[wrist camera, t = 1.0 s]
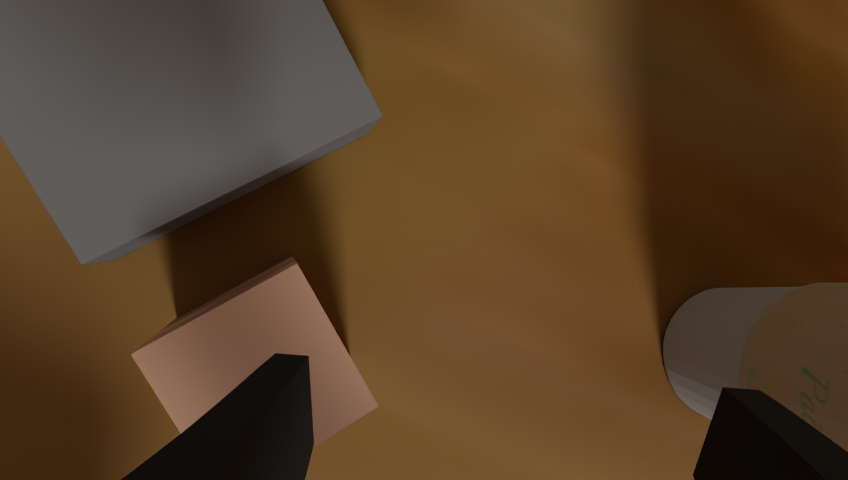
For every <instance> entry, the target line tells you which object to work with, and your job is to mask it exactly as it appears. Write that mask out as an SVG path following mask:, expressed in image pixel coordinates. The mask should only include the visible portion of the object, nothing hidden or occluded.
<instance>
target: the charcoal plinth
mask: <svg viewBox="0 0 848 480" xmlns="http://www.w3.org/2000/svg"><path fill="white" fill-rule="evenodd" d="M382 117H383V115H382V113H381V112H380V110H379V108H378V106H377V104H376V102H375V100H374V98H373V96H372V94H371V92H370V90H369V88H368V87H367V85H366V83H365V81H364V79H363V77H362V75H361V73H360V71H359V69H358V67H357V65H356V63H355V62H354V60H353V58H352V56H351V54H350V52H349V50H348V48H347V46H346V44H345V42H344V40H343V39H342V37H341V35H340V33H339V31H338V29H337V27H336V25H335V23H334V21H333V19H332V17H331V15H330V14H329V12H328V10H327V8H326V6H325V4H324V2H323V0H0V136H1V137H2V139H3V141H4V142H5V144H6V145H7V147H8V149H9V150H10V152H11V153H12V155H13V157H14V158H15V160H16V161H17V163H18V165H19V166H20V168H21V169H22V171H23V172H24V174H25V176H26V177H27V179H28V180H29V182H30V184H31V185H32V187H33V188H34V190H35V192H36V193H37V195H38V196H39V198H40V200H41V201H42V203H43V204H44V206H45V207H46V209H47V211H48V212H49V214H50V215H51V217H52V219H53V220H54V222H55V223H56V225H57V227H58V228H59V230H60V231H61V233H62V234H63V236H64V238H65V239H66V241H67V242H68V244H69V246H70V247H71V249H72V250H73V252H74V254H75V255H76V257H77V258H78V260H79V262H80V263H81V265H84V264H91V263H99V262H106V261H113V260H115V259H117V258H119V257H121V256H123V255H125V254H127V253H129V252H131V251H134V250H136V249H138V248H140V247H142V246H144V245H146V244H148V243H150V242H152V241H154V240H156V239H158V238H160V237H162V236H164V235H166V234H168V233H170V232H172V231H174V230H176V229H178V228H180V227H182V226H184V225H186V224H188V223H190V222H192V221H194V220H196V219H198V218H200V217H202V216H204V215H206V214H208V213H210V212H212V211H214V210H216V209H218V208H220V207H222V206H224V205H226V204H228V203H230V202H232V201H234V200H236V199H238V198H240V197H242V196H244V195H246V194H248V193H250V192H252V191H254V190H256V189H258V188H260V187H262V186H264V185H266V184H268V183H270V182H272V181H274V180H276V179H278V178H280V177H282V176H284V175H286V174H288V173H290V172H292V171H294V170H296V169H298V168H300V167H302V166H304V165H306V164H308V163H310V162H312V161H314V160H316V159H318V158H320V157H322V156H324V155H326V154H328V153H330V152H332V151H334V150H336V149H338V148H340V147H342V146H344V145H346V144H348V143H350V142H352V141H354V140H356V139H358V138H360V137H362V136H364V135H366V134H368V133H369V132H370V131H371V130H372V129H373V127H374V126H375V125H376V124H377V123H378V121H379V120H380V119H381V118H382Z"/></svg>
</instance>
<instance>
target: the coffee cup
mask: <svg viewBox="0 0 848 480" xmlns="http://www.w3.org/2000/svg"><path fill="white" fill-rule="evenodd" d="M663 359H664V366H665V370H666V373H667V376H668V380H669V382H670V384H671V386H672V388H673V390H674V391H675V393H676V394H677V395H678V397H679V398H680V399H681V400H682V401H683V402H684V403H685V404H686V405H687V406H688V407H690V408H691V409H693V410H695V411H696V412H698V413H700V414H702V415H703V416H705V417H707V418H709V419H710V420H712V417H713V414H714V411H715V408H716V405H717V402H718V399H719V396H720V393H721V390H722V387H727V388H740V389H754V390H760V391H762V392H763V393H765V394H767V395H768V396H770V397H771V398H773V399H774V400H776V401H777V402H779V403H780V404H782V405H783V406H785V407H786V408H787V409H789V410H790V411H792V412H793V413H795V414H796V415H797V416H799V417H800V418H802V419H803V420H804V421H806V422H807V423H809V424H810V425H811V426H813V427H814V428H815V429H817V430H818V431H820V432H821V433H822V434H824V435H825V436H826V437H828V438H829V439H831V440H832V441H833V442H835V443H836V444H837V445H839V446H840V447H842V448H843V449H844V450H846V451H847V452H848V282H836V283H812V284H808V285H805V286H801V287H736V288H713V289H709V290H705V291H702V292H700V293H698V294H696V295H694V296H693V297H691V298H690V299H688V300H687V301H686V302H684V303H683V305H682V306H681V307H680V308H679V309H678V310H677V311H676V312H675V314H674V315H673V317H672V318H671V320H670V322H669V324H668V327H667V329H666V331H665V336H664V341H663Z"/></svg>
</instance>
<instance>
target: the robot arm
mask: <svg viewBox="0 0 848 480" xmlns="http://www.w3.org/2000/svg"><path fill="white" fill-rule="evenodd" d="M313 445H314V433H313V417H312V401H311V385H310V368H309V356H306V355H293V354H279V353H275V354H274V355H273V356H271V357H270V358H269V359H268V360H267V361H265V362H264V363H263V364H262V365H261V366H260V367H258V368H257V369H256V370H255V371H254V372H253V373H251V374H250V375H249V376H248V377H247V378H246V379H245V380H243V381H242V382H241V383H240V384H239V385H238V386H237V387H236V388H234V389H233V390H232V391H231V392H230V393H229V394H227V395H226V396H225V397H224V398H223V399H222V400H221V401H219V402H218V403H217V404H216V405H215V406H213V407H212V408H211V409H210V410H209V411H208V412H206V413H205V414H204V415H203V416H202V417H200V418H199V419H198V420H197V421H196V422H194V423H193V424H192V425H191V426H190V427H188V428H187V429H186V430H185V431H184V432H182V433H181V434H180V435H179V436H177V437H176V438H175V439H174V440H172V441H171V442H170V443H169V444H167V445H166V446H165V447H163V448H162V449H161V450H159V451H158V452H157V453H156V454H154V455H153V456H152V457H150V458H149V459H148V460H146V461H145V462H144V463H143V464H141V465H140V466H139V467H137V468H136V469H135V470H133V471H132V472H131V473H130V474H128V475H127V476H125V477H124V478H123V479H121V480H305V477H306V473H307V469H308V465H309V461H310V457H311V453H312V449H313ZM693 476H694V480H848V452H847V451H846V450H844V449H843V448H842V447H840V446H839V445H837V444H836V443H835V442H833V441H832V440H831V439H829V438H828V437H826V436H825V435H824V434H822V433H821V432H820V431H818V430H817V429H815V428H814V427H813V426H811V425H810V424H809V423H807V422H806V421H804V420H803V419H802V418H800V417H799V416H797V415H796V414H795V413H793V412H792V411H790V410H789V409H787V408H786V407H785V406H783V405H782V404H780V403H779V402H777V401H776V400H774V399H773V398H771V397H770V396H768V395H767V394H765V393H763V392H762V391H760V390H754V389H740V388H727V387H722V390H721V393H720V396H719V399H718V402H717V405H716V408H715V411H714V414H713V417H712V420H711V423H710V426H709V429H708V432H707V435H706V438H705V441H704V444H703V447H702V450H701V453H700V456H699V459H698V462H697V465H696V468H695V470H694V473H693Z"/></svg>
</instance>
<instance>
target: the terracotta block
mask: <svg viewBox="0 0 848 480" xmlns="http://www.w3.org/2000/svg"><path fill="white" fill-rule="evenodd" d="M275 353H279V354H293V355H306V356H309V368H310V385H311V401H312V417H313V433H314V445H313V448H314V447H315V446H317V445H319V444H320V443H322V442H323V441H325V440H326V439H328V438H330V437H331V436H333V435H334V434H336V433H337V432H339V431H341V430H342V429H344V428H345V427H347V426H348V425H350V424H351V423H353V422H355V421H356V420H358V419H359V418H361V417H362V416H364V415H366V414H367V413H369V412H370V411H372V410H373V409H375V408H377V407H378V405H377V403H376V401H375V400H374V398H373V396H372V394H371V392H370V391H369V389H368V387H367V385H366V384H365V382H364V380H363V378H362V377H361V375H360V373H359V371H358V370H357V368H356V366H355V364H354V363H353V361H352V359H351V357H350V355H349V354H348V352H347V350H346V348H345V347H344V345H343V343H342V341H341V340H340V338H339V336H338V334H337V333H336V331H335V329H334V327H333V325H332V324H331V322H330V320H329V318H328V317H327V315H326V313H325V311H324V310H323V308H322V306H321V304H320V303H319V301H318V299H317V297H316V295H315V294H314V292H313V290H312V288H311V287H310V285H309V283H308V281H307V280H306V278H305V276H304V274H303V273H302V271H301V269H300V267H299V266H298V264H297V262H296V261H295V259H294V258H293V256H291V257H289V258H287V259H285V260H283V261H282V262H280V263H278V264H276V265H274V266H272V267H270V268H269V269H267V270H265V271H263V272H261V273H259V274H257V275H256V276H254V277H252V278H250V279H248V280H246V281H244V282H243V283H241V284H239V285H237V286H235V287H233V288H231V289H230V290H228V291H226V292H224V293H222V294H220V295H219V296H217V297H215V298H213V299H211V300H209V301H207V302H206V303H204V304H202V305H200V306H198V307H196V308H194V309H193V310H191V311H189V312H187V313H185V314H183V315H181V316H180V317H178V318H176V319H175V320H174V321H172V322H171V323H170V324H169V325H167V326H166V327H165V328H163V329H162V330H161V331H160V332H158V333H157V334H156V335H154V336H153V337H152V338H151V339H149V340H148V341H147V342H145V343H144V344H143V345H142V346H140V347H139V348H138V349H137V350H135V351H134V352H133V353H131V356H132V357H133V359H134V360H135V362H136V364H137V365H138V367H139V368H140V370H141V371H142V373H143V375H144V376H145V378H146V379H147V381H148V383H149V384H150V386H151V387H152V389H153V390H154V392H155V394H156V395H157V397H158V398H159V400H160V402H161V403H162V405H163V406H164V408H165V410H166V411H167V413H168V414H169V416H170V417H171V419H172V421H173V422H174V424H175V425H176V427H177V429H178V430H179V432H180V433H182V432H184V431H185V430H186V429H187V428H188V427H190V426H191V425H192V424H193V423H194V422H196V421H197V420H198V419H199V418H200V417H202V416H203V415H204V414H205V413H206V412H208V411H209V410H210V409H211V408H212V407H213V406H215V405H216V404H217V403H218V402H219V401H221V400H222V399H223V398H224V397H225V396H226V395H227V394H229V393H230V392H231V391H232V390H233V389H234V388H236V387H237V386H238V385H239V384H240V383H241V382H242V381H243V380H245V379H246V378H247V377H248V376H249V375H250V374H251V373H253V372H254V371H255V370H256V369H257V368H258V367H260V366H261V365H262V364H263V363H264V362H265V361H267V360H268V359H269V358H270V357H271V356H273V355H274V354H275Z"/></svg>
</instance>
